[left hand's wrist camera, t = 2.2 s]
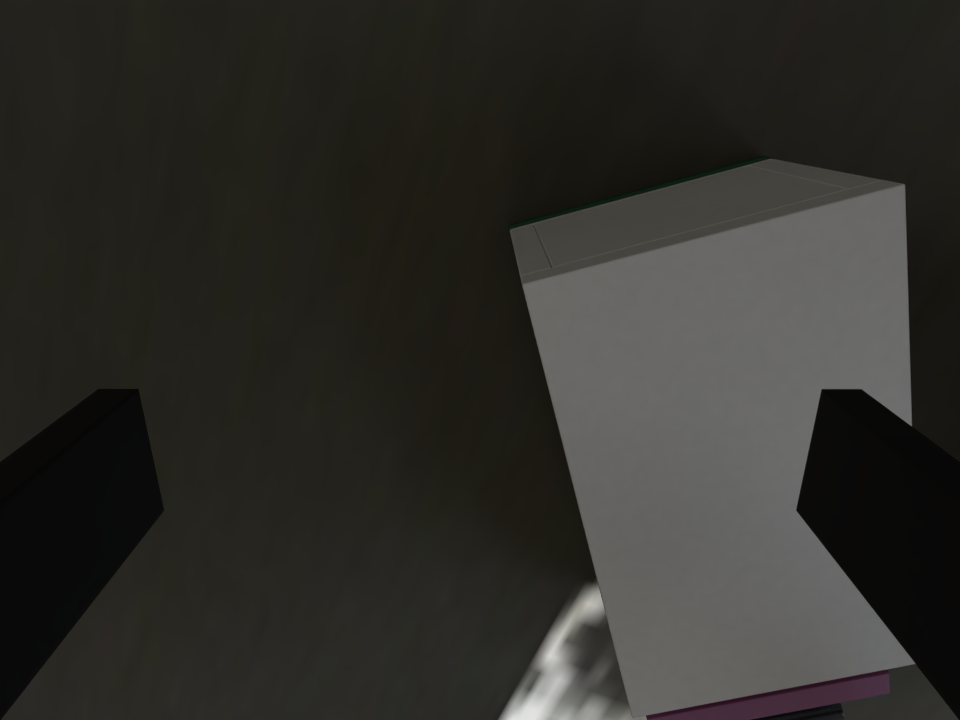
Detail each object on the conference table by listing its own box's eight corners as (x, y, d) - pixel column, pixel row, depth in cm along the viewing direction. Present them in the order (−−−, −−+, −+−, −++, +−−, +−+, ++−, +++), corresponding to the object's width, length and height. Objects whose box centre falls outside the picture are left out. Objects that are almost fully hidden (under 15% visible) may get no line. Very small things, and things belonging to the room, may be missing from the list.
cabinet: (801, 512, 34) (919, 664, 25) (592, 558, 36) (632, 718, 26) (763, 156, 28) (906, 183, 19) (508, 225, 29) (521, 284, 20)
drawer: (811, 648, 37) (895, 785, 29) (635, 682, 38) (673, 824, 30) (769, 255, 28) (870, 309, 21) (544, 313, 29) (565, 384, 22)
